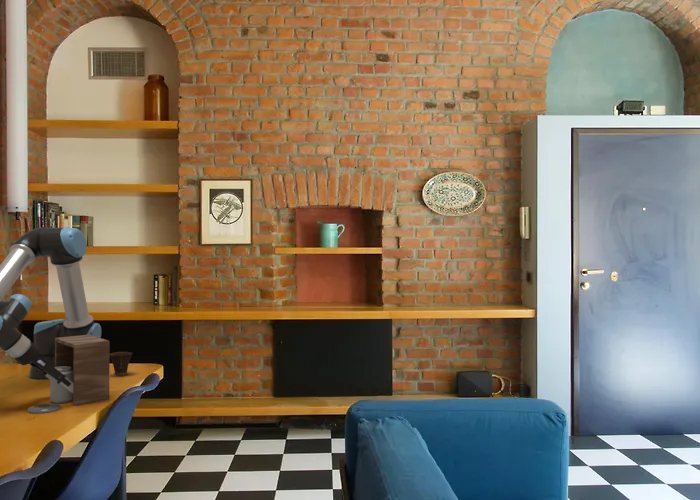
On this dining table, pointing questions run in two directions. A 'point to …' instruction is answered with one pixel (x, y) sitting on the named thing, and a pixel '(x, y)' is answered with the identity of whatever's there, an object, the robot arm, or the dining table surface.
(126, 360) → the cup
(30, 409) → the coaster
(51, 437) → the dining table surface
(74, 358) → the wooden box
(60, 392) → the can
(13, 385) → the dining table surface
